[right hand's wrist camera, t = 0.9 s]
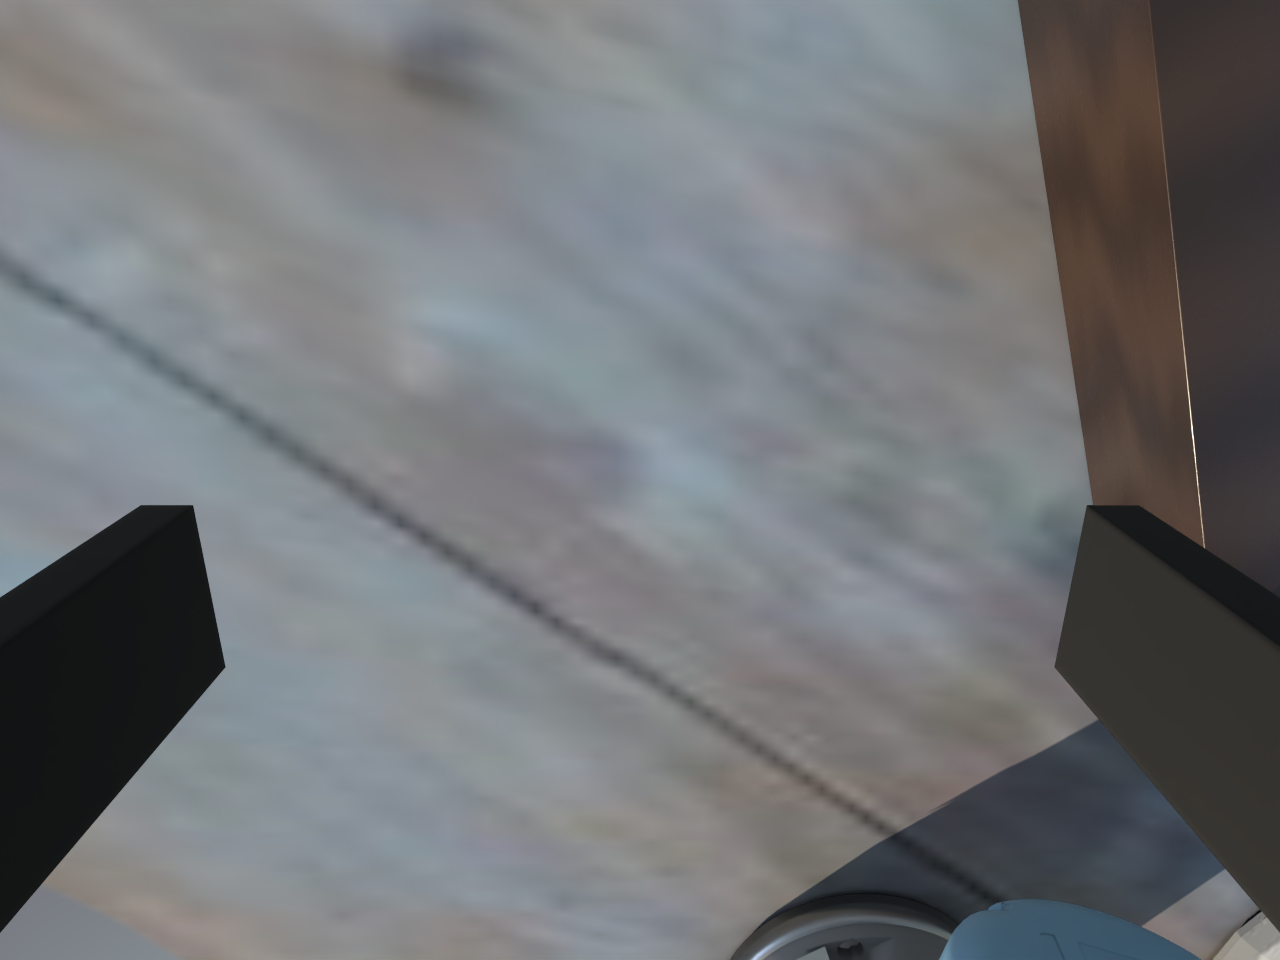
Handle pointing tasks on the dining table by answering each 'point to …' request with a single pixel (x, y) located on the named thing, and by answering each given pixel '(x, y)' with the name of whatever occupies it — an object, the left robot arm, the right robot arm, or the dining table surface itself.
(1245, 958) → the wall clock
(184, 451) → the dining table surface
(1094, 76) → the walnut beam
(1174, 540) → the right robot arm
